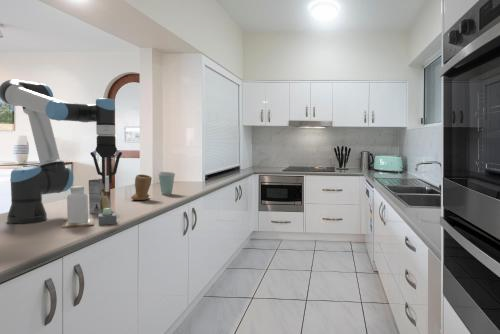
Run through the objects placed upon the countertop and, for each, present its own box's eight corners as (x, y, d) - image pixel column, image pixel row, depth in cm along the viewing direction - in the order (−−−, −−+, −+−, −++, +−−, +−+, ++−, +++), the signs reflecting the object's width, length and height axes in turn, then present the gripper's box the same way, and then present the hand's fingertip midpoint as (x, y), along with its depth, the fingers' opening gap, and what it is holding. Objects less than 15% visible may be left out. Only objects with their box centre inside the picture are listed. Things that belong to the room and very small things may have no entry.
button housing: (98, 224, 167) (98, 216, 167) (98, 221, 174) (98, 213, 173) (116, 223, 170) (116, 215, 169) (115, 220, 176) (115, 212, 176)
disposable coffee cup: (170, 192, 272) (169, 170, 272) (178, 194, 264) (177, 171, 263) (155, 194, 266) (155, 171, 265) (163, 195, 257) (163, 172, 256)
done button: (103, 217, 169) (103, 209, 169) (103, 216, 172) (103, 208, 172) (111, 217, 171) (111, 209, 170) (111, 216, 174) (111, 208, 173)
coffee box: (99, 209, 204) (99, 178, 203) (111, 210, 202) (110, 178, 201) (88, 213, 195) (88, 180, 194) (100, 213, 193) (100, 180, 192)
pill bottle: (66, 224, 164) (65, 187, 163) (69, 220, 172) (68, 185, 171) (87, 223, 166) (86, 187, 166) (89, 219, 174) (88, 185, 173)
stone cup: (150, 201, 234) (149, 175, 233) (129, 201, 233) (128, 175, 232) (154, 197, 249) (153, 173, 248) (134, 197, 248) (134, 173, 247)
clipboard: (61, 228, 161) (61, 225, 161) (63, 221, 174) (63, 218, 174) (93, 225, 165) (93, 223, 165) (93, 219, 178) (93, 217, 178)
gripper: (89, 135, 163) (90, 192, 165) (122, 135, 168) (123, 191, 170) (89, 135, 170) (90, 190, 172) (121, 135, 175) (122, 189, 177)
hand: (107, 191), depth 171 cm, fingers closed
